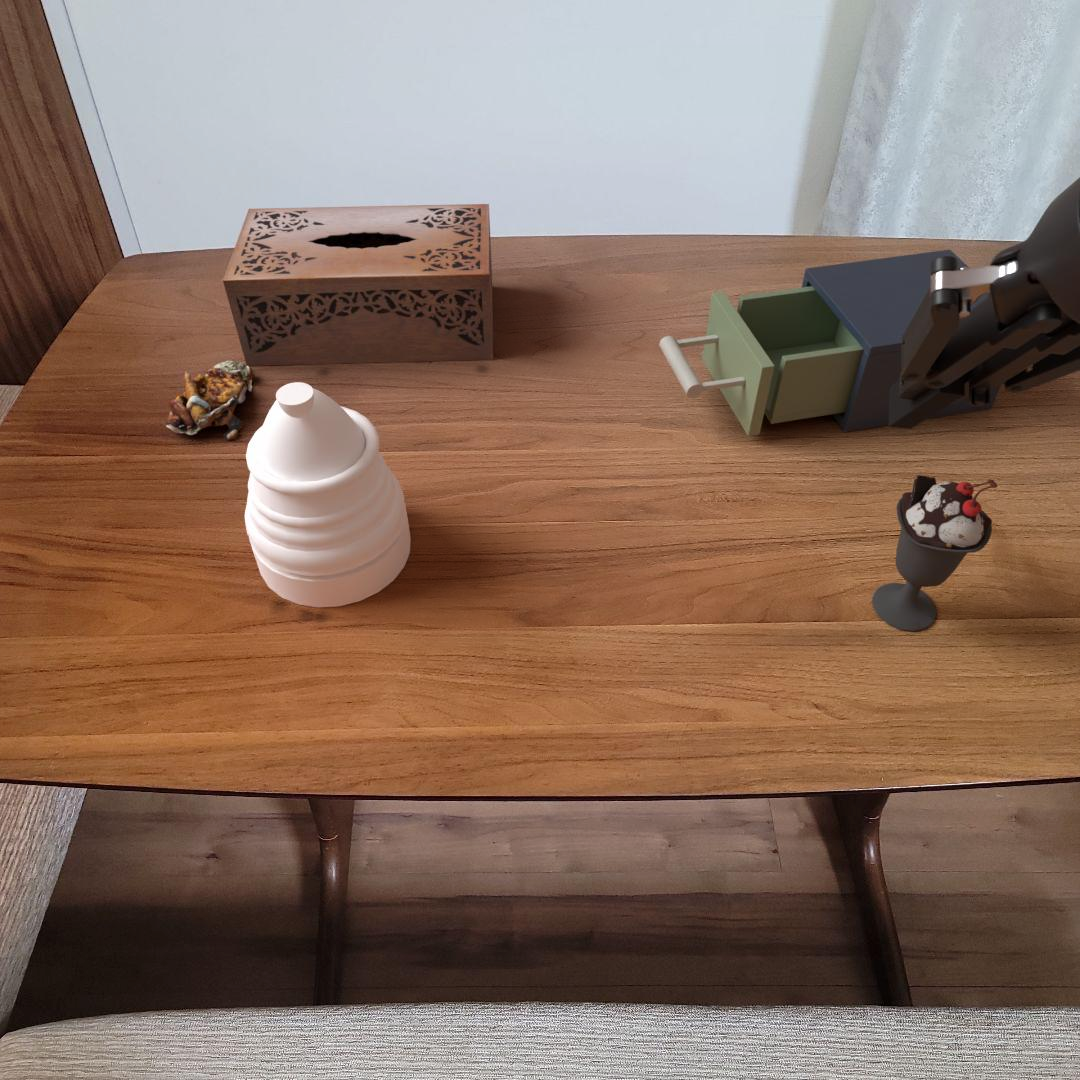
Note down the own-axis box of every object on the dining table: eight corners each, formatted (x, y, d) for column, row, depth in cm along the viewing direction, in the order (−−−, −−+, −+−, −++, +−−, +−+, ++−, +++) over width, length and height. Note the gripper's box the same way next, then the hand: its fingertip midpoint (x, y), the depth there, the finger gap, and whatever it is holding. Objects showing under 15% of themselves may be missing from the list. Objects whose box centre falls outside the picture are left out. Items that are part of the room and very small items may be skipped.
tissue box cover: (492, 285, 107) (488, 203, 100) (493, 359, 98) (489, 274, 90) (268, 290, 107) (248, 208, 99) (246, 365, 97) (222, 280, 90)
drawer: (689, 445, 87) (700, 376, 81) (648, 367, 95) (655, 299, 89) (889, 413, 90) (912, 345, 84) (831, 340, 98) (849, 273, 92)
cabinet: (844, 432, 89) (871, 347, 82) (786, 350, 98) (805, 268, 91) (991, 408, 92) (1029, 324, 85) (921, 331, 101) (950, 249, 94)
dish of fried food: (260, 366, 97) (253, 337, 94) (238, 441, 89) (229, 411, 86) (193, 367, 97) (183, 338, 94) (164, 442, 88) (153, 413, 86)
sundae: (953, 645, 72) (1027, 507, 61) (864, 634, 72) (922, 496, 62) (942, 581, 76) (1009, 442, 65) (858, 571, 77) (910, 432, 66)
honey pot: (418, 594, 75) (393, 421, 62) (257, 619, 74) (196, 447, 61) (403, 487, 84) (377, 316, 71) (258, 507, 82) (204, 336, 69)
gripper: (1023, 282, 36) (801, 452, 59) (1332, 322, 37) (995, 474, 60) (1020, 113, 38) (804, 342, 61) (1317, 155, 39) (994, 366, 62)
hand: (900, 408), depth 61 cm, fingers closed
